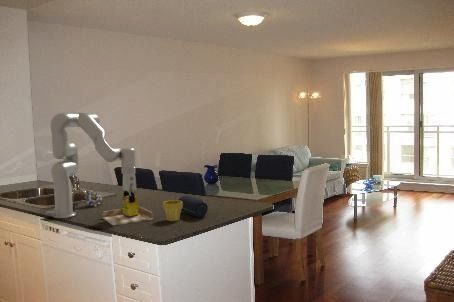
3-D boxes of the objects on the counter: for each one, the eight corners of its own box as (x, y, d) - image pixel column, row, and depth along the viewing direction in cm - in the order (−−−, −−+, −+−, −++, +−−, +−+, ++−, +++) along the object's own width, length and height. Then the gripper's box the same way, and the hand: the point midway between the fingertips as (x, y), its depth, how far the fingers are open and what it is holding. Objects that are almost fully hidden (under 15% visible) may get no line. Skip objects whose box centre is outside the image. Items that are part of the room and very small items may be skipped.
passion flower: (95, 215, 284) (86, 202, 276) (85, 210, 290) (77, 197, 283) (108, 203, 289) (100, 190, 282) (98, 198, 296) (90, 185, 289)
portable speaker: (210, 217, 245) (210, 199, 244) (194, 220, 240) (193, 201, 239) (191, 209, 267) (190, 193, 266) (175, 212, 262) (175, 195, 261)
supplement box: (123, 216, 249) (122, 196, 248) (131, 214, 253) (131, 195, 252) (129, 217, 245) (128, 197, 244) (138, 215, 249) (137, 196, 248)
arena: (113, 225, 233) (112, 218, 232) (103, 218, 250) (102, 211, 249) (153, 219, 243) (152, 212, 243) (140, 213, 261) (140, 206, 260)
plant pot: (186, 220, 240) (185, 202, 240) (169, 223, 235) (168, 204, 234) (177, 216, 249) (177, 199, 248) (160, 219, 243) (159, 201, 243)
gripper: (140, 171, 241) (140, 203, 243) (130, 168, 256) (130, 197, 258) (126, 172, 237) (127, 204, 239) (117, 169, 252) (118, 199, 254)
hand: (129, 201), depth 248 cm, fingers open, 9 cm apart
